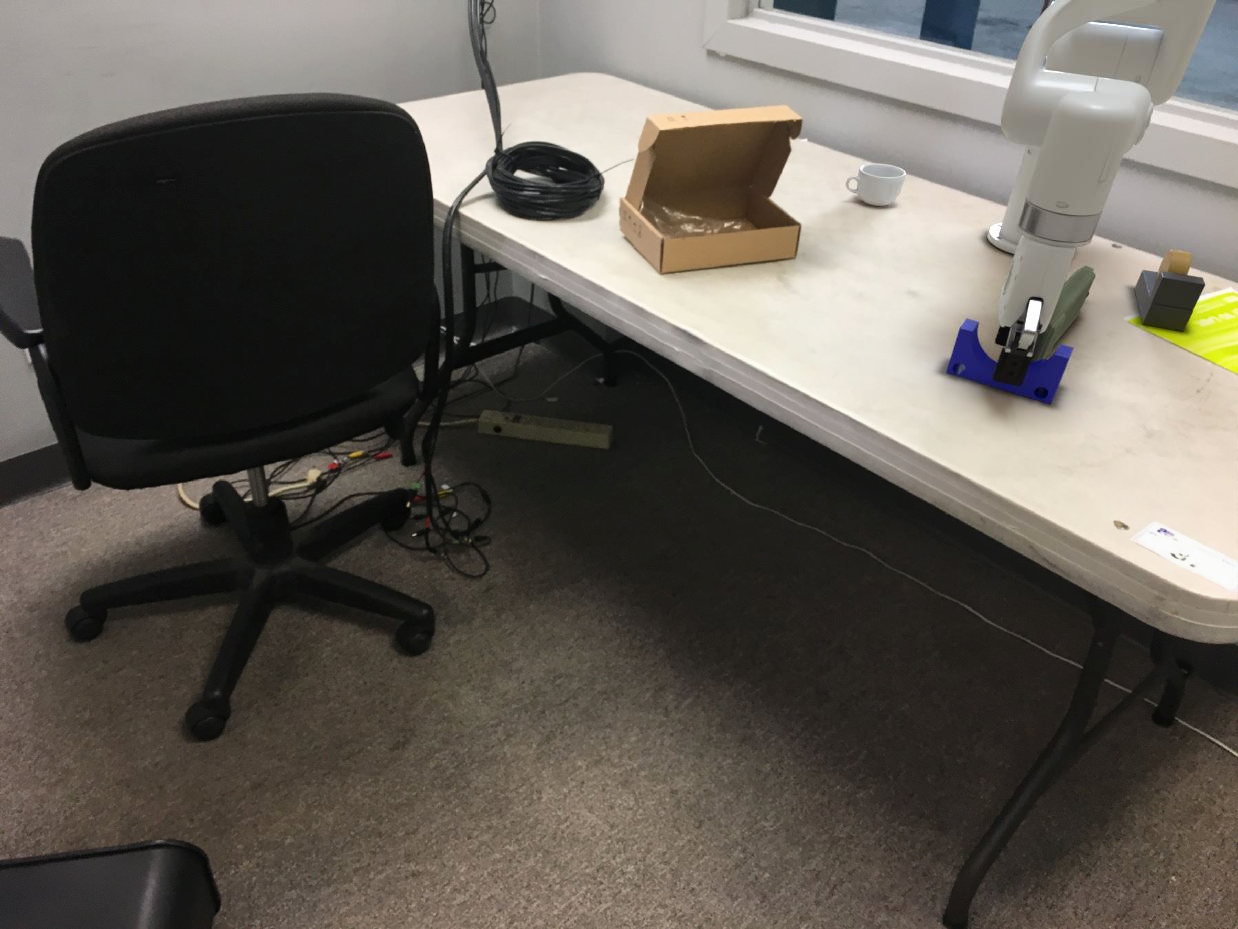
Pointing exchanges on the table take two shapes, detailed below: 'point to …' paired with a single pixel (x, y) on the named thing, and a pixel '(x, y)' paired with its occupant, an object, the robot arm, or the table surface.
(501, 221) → the table surface
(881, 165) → the teacup
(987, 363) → the blue semicircular clamp bracket
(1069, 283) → the handheld radio
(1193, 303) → the tape dispenser
